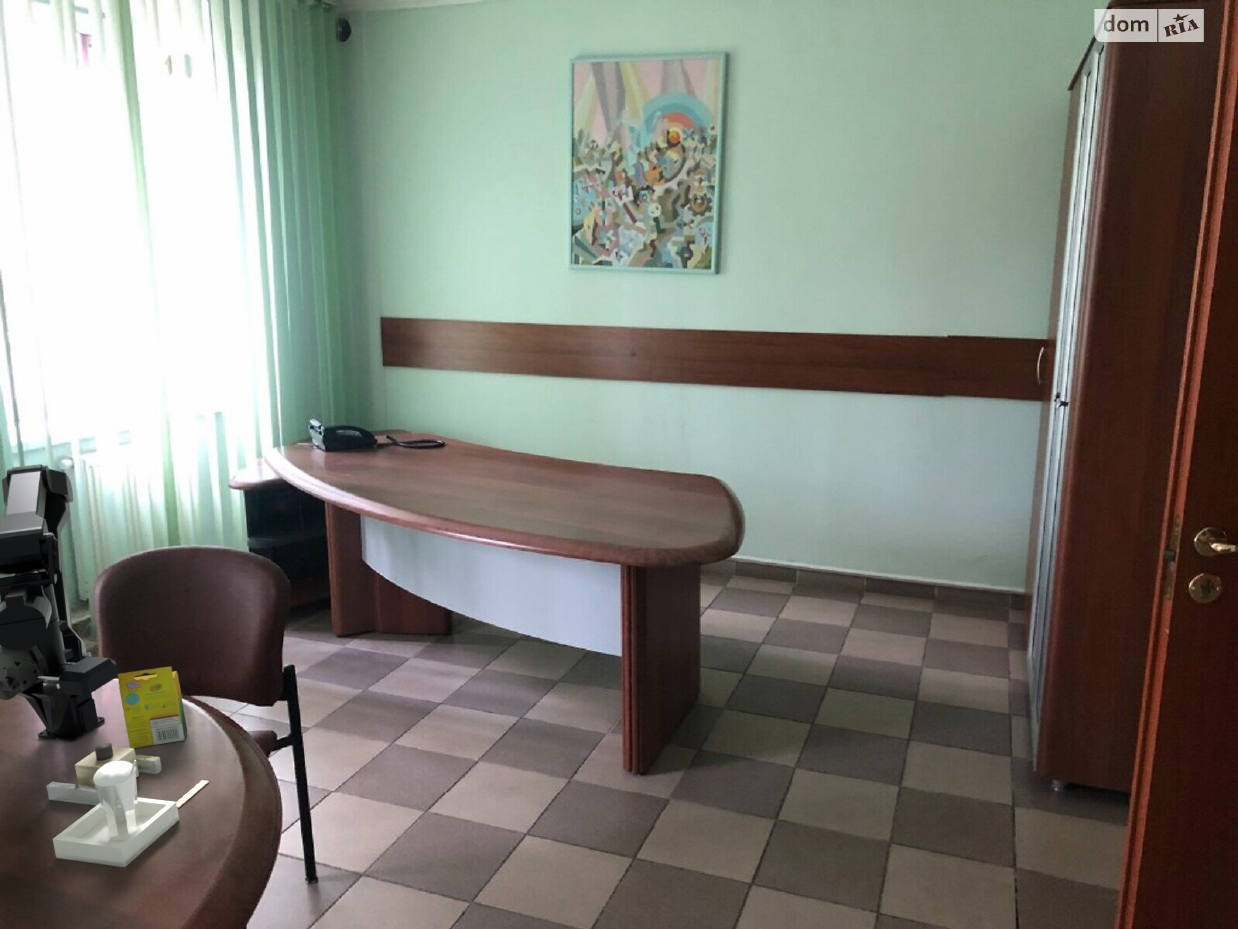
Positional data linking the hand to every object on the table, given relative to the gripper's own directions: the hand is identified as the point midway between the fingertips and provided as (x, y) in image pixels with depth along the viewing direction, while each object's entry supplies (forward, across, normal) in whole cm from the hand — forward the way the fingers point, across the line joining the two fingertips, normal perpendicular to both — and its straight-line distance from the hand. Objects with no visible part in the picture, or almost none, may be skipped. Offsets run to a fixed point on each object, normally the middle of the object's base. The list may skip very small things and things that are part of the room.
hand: (53, 729), depth 130 cm
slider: (+7, +8, 0) cm, 11 cm away
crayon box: (+8, +6, +12) cm, 15 cm away
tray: (+7, +18, -10) cm, 22 cm away
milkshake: (+7, +19, -10) cm, 22 cm away
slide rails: (+7, +11, 0) cm, 13 cm away
